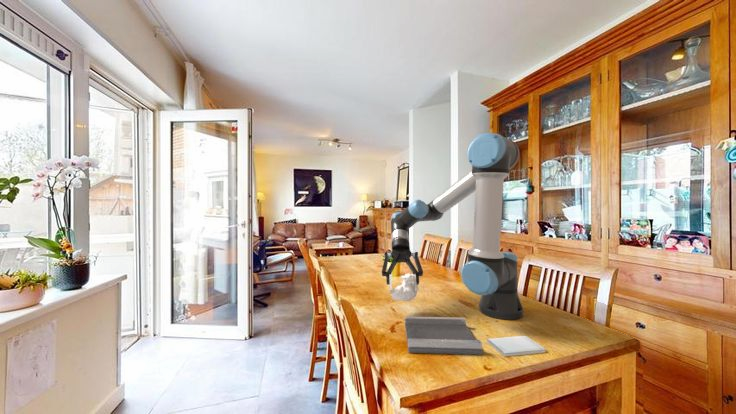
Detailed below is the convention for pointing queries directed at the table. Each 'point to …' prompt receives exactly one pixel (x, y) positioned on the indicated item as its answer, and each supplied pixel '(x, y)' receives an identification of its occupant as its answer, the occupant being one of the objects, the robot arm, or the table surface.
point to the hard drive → (516, 346)
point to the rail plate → (440, 336)
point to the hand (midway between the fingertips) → (403, 291)
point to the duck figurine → (405, 289)
